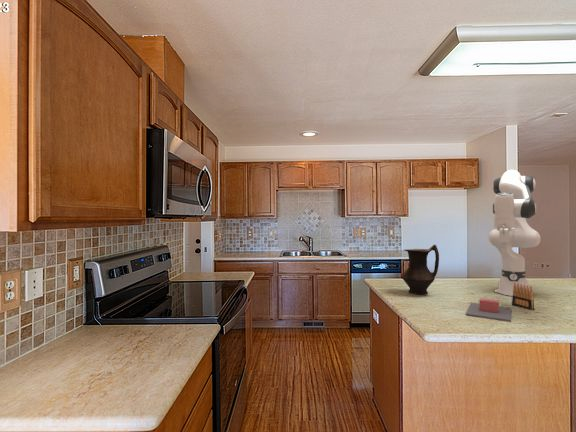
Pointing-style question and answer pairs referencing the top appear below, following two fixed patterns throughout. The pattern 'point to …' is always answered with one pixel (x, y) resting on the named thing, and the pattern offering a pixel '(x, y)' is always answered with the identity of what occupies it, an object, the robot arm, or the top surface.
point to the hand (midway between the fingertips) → (504, 251)
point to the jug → (420, 270)
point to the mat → (489, 313)
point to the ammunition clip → (523, 297)
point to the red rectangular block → (489, 305)
